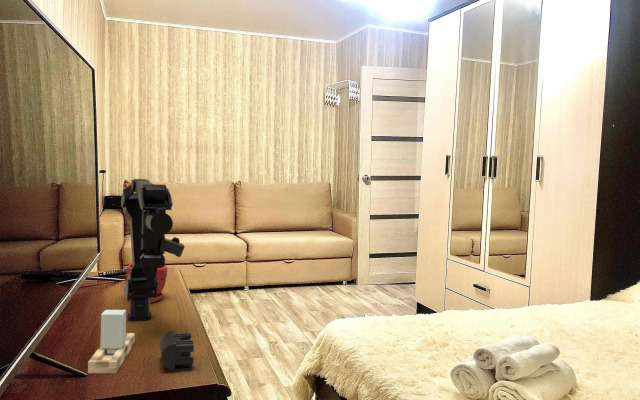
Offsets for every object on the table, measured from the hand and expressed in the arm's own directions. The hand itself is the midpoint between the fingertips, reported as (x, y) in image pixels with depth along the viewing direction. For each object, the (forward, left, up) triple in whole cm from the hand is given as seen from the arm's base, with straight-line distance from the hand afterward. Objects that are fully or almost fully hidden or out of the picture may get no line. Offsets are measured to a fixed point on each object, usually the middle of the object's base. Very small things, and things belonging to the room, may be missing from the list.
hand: (151, 286), depth 146 cm
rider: (+18, -9, -11) cm, 23 cm away
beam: (+17, -9, -13) cm, 23 cm away
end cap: (+25, +6, -13) cm, 29 cm away
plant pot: (-36, -1, -13) cm, 38 cm away
